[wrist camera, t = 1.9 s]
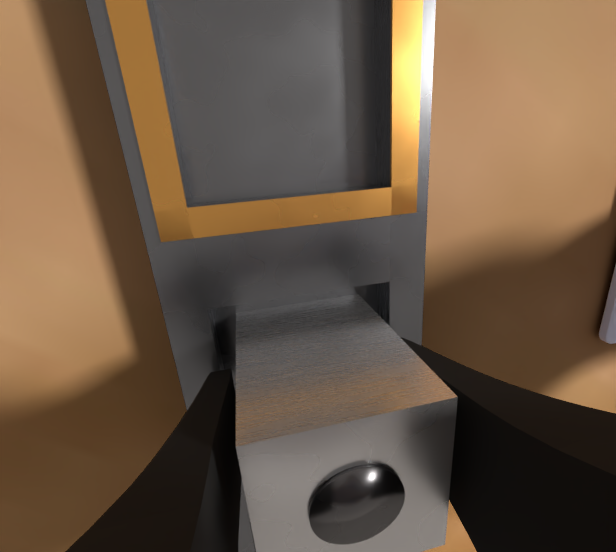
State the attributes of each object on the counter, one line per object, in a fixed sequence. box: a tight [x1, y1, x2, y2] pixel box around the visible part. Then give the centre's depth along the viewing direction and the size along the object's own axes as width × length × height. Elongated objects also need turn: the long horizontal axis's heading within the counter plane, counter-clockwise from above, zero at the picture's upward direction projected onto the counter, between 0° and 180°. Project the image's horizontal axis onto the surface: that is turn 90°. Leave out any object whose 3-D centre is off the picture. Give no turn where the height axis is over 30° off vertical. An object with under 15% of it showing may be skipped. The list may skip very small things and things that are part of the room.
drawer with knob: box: [236, 294, 458, 552], centre depth 9 cm, size 4×4×6 cm
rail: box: [86, 0, 436, 552], centre depth 12 cm, size 8×28×2 cm, turn 5°
